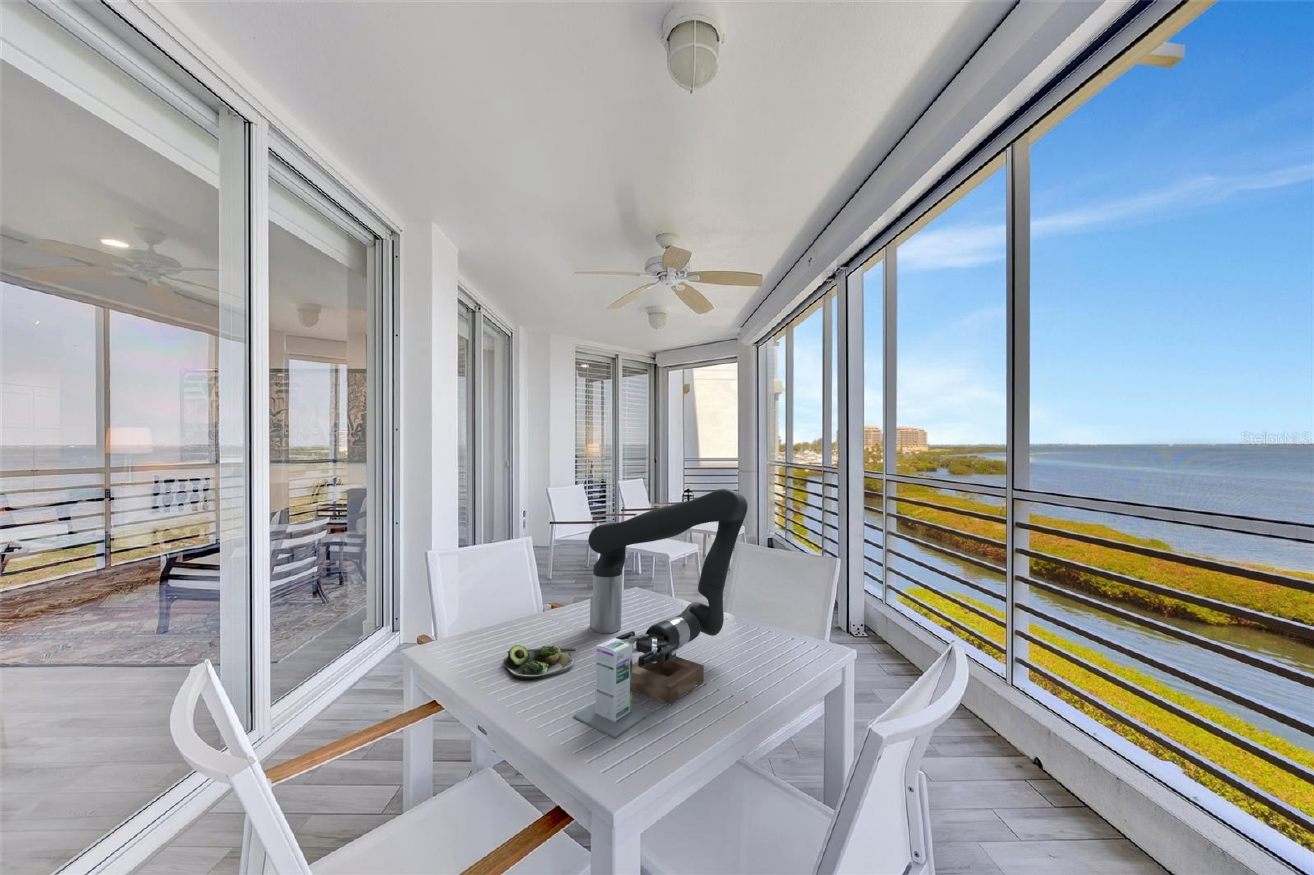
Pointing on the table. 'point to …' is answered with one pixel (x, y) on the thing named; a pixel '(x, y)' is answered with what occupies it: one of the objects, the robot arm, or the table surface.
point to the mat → (609, 726)
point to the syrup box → (614, 679)
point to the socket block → (667, 679)
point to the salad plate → (536, 661)
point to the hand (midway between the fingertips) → (624, 657)
